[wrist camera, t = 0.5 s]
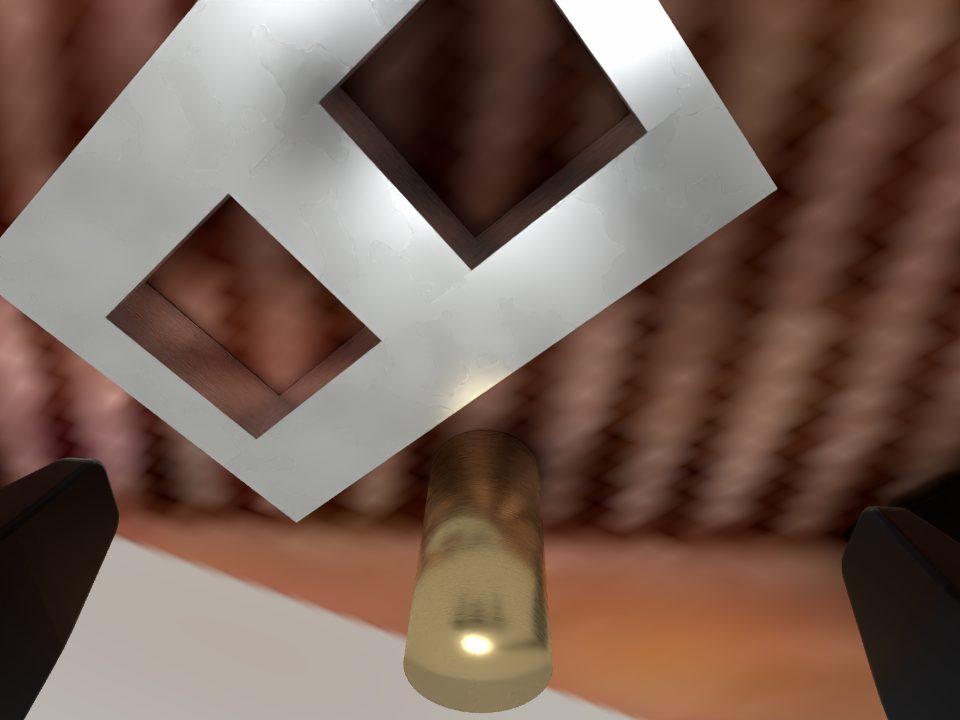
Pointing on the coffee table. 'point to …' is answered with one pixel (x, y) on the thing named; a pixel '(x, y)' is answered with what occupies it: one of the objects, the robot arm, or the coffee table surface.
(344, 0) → the plate
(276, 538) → the coffee table surface
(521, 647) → the pale yellow rod
